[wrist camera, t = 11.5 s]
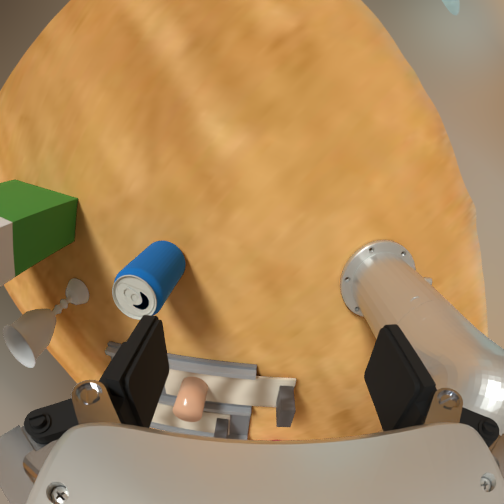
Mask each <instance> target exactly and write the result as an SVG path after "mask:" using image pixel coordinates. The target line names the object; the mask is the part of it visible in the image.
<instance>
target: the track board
mask: <svg viewBox="0 0 504 504" xmlns="http://www.w3.org/2000/svg"><path fill="white" fill-rule="evenodd" d="M121 345H122V344H119V343H115V342H110V341H109V342H108V347H107V348H106V350H105V353H106V355H109V356H111V359H113V357H114V356H115V354H116V352H117V351H118V349H119V348H120V346H121ZM167 356H168V362H169V369H174V370H179V371H185V372H192V373H198V374H206V375H213V376H221V377H230V378H240V379H250V380H256V369H257V365H255V364H244V363H234V362H225V361H216V360H208V359H201V358H194V357H187V356H181V355H175V354H169V353H167ZM176 398H177V396H175V395H169V394H166V390H165V385H164V388H163V391H162V394H161V396H160V399H159V402H158V403H162V404H167V405H172V406H174V404H175V401H176ZM203 411H207V412H215V413H223V414H230V433H229V435H228V436H227V439H240V440H247V435H248V428H249V421H250V416H251V406H249V405H238V404H228V403H220V402H212V401H205V405H204V409H203ZM150 427H151V428H155V429H160V430H164V431H169V432H175V433H182V434H189V435H197V436H205V437H214V433H208V432H201V431H195V430H189V429H184V428H178V427H173V426H168V425H164V424H159V423H155V422H151V424H150Z"/></svg>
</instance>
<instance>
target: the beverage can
mask: <svg viewBox="0 0 504 504" xmlns="http://www.w3.org/2000/svg"><path fill="white" fill-rule="evenodd" d="M184 270H185V258H184V255H183V253H182V252H181V250H180V249H179V248H178V247H177V246H176V245H174V244H173V243H171V242H168V241H157V242H154V243H152V244H151V245H150V246H148V247H147V248H146V249H145V250H144V251H143V252H142V253H140V254H139V255H138V256H137V257H136V258H135V259H134V260H132V261H131V262H130V263H129V264H128V265H127V266H126V267H125V268H123V269H122V270H121V271H120V272H119V273H118V274H117V276H116V278H115V281H114V284H113V288H112V296H113V299H114V302H115V304H116V306H117V307H118V308H119V309H120V311H121V312H123V313H124V314H125V315H127V316H128V317H130V318H133V319H138V320H141V318H142V317H143V315H151V316H153V315H155V314H156V313H158V312H159V311H160V309H161V308H162V306H163V304H164V303H165V301H166V300H167V298H168V297H169V295H170V293H171V292H172V290H173V289H174V287H175V286H176V284H177V282H178V281H179V279H180V278H181V276H182V275H183V273H184Z"/></svg>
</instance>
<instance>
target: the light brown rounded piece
mask: <svg viewBox="0 0 504 504" xmlns="http://www.w3.org/2000/svg"><path fill="white" fill-rule="evenodd" d="M207 391H208V385H207V384H206V382H205V381H203V380H202V379H200V378H197V377H186V378H184V379H183V380H182V383H181V386H180V389H179V392H178V395H177V398H176V401H175V404H174V407H173V413H174V415H175V416H176V417H178V418H179V419H181V420H183V421H187V422H197V421H199V420H200V419H201V418H202V413H203V409H204V405H205V400H206V396H207Z"/></svg>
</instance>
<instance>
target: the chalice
mask: <svg viewBox="0 0 504 504" xmlns="http://www.w3.org/2000/svg"><path fill="white" fill-rule="evenodd" d="M88 300H89V292H88V289H87V287H86V285H85V284H84V283H83V282H82V281H80V280H79V279H76V278H74V279H71V280H70V281H69V283H68V286H67V288H66V299H61V300H60V304H59V305H55V308H54V309H53V311H51V310H50V309H35V310H31V311H28V312H26V313H25V314H23V315H22V316H21V317H20V318H19V319H18V320H16V321H15V322H14V323H13V324H12V325H5V326H4V327H3V336H4V339H5V342H6V344H7V346H8V348H9V350H10V351H11V353H12V354H13V355H14V356H15V358H16V359H17V360H18V361H20V363H22V364H23V365H25V366H26V367H30V368H32V367H34V365H35V362H36V358H37V357H38V356H39V355H40V354H41V353H42V352H43V351H44V350H45V348H46V347H47V346H48V345H49V343H50V341H51V338H52V335H53V333H54V328H55V324H56V317H55V315H56V314H58V313H59V314H60V313H61V311H62V309H63V308H65V309H66V308H67V307H68V303H72V304H75V305H78V304H84V303H86V302H87V301H88Z"/></svg>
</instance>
